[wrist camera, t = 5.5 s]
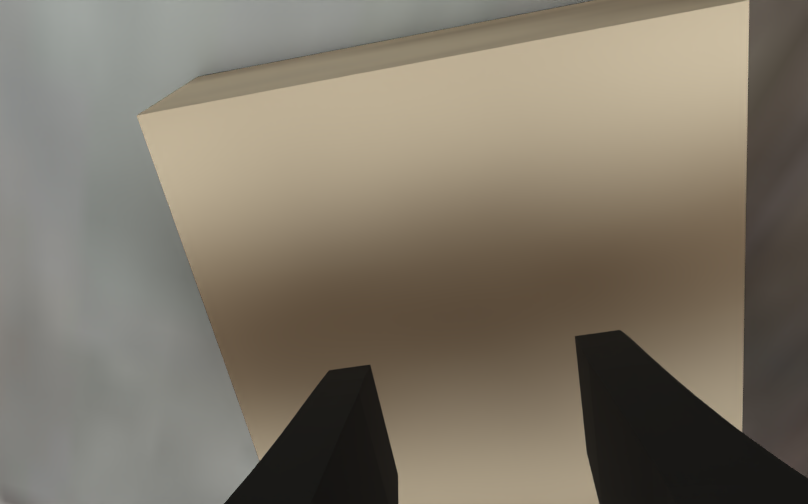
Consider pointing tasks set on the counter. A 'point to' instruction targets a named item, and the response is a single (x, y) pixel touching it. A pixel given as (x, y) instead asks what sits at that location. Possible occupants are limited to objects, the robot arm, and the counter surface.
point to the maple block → (473, 228)
